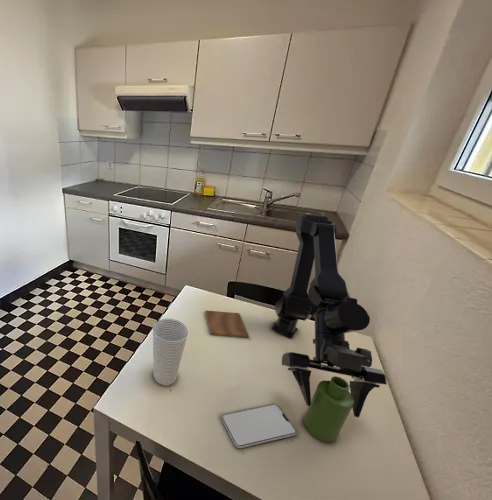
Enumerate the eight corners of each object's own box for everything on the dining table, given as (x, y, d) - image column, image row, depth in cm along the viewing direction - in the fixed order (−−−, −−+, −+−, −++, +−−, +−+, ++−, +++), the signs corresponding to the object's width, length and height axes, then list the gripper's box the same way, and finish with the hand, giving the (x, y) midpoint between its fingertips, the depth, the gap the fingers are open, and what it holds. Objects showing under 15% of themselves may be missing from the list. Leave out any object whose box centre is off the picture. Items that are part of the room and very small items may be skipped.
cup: (142, 372, 74) (145, 325, 68) (166, 359, 79) (171, 314, 73) (163, 396, 68) (168, 346, 62) (187, 380, 73) (195, 332, 66)
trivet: (238, 315, 100) (239, 313, 100) (248, 338, 89) (248, 335, 89) (205, 312, 100) (205, 310, 100) (210, 335, 89) (211, 332, 89)
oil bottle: (308, 409, 67) (326, 365, 61) (339, 428, 63) (362, 383, 57) (299, 427, 62) (318, 382, 57) (332, 448, 58) (356, 402, 53)
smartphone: (219, 414, 63) (276, 402, 67) (219, 416, 64) (275, 404, 67) (237, 447, 57) (298, 433, 60) (236, 449, 57) (298, 435, 61)
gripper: (299, 322, 59) (299, 405, 53) (401, 341, 55) (412, 431, 49) (281, 329, 69) (280, 398, 63) (366, 345, 65) (372, 420, 60)
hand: (332, 411), depth 59 cm, fingers open, 9 cm apart
